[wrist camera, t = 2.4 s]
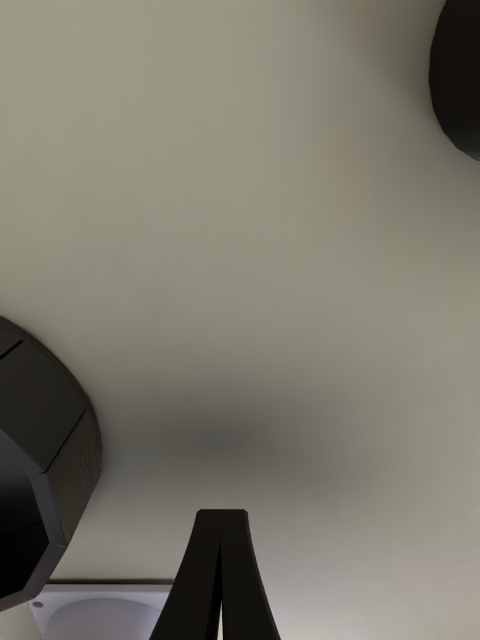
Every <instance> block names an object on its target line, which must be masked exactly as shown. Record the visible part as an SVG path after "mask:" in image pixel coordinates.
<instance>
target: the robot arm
mask: <svg viewBox="0 0 480 640" xmlns="http://www.w3.org/2000/svg"><path fill="white" fill-rule="evenodd" d="M221 600H222V627H223V640H281V639H280V636H279V633H278V630H277V627H276V624H275V621H274V618H273V615H272V612H271V609H270V606H269V603H268V600H267V596H266V593H265V590H264V586H263V583H262V580H261V576H260V573H259V569H258V565H257V561H256V557H255V553H254V549H253V544H252V539H251V534H250V528H249V521H248V512H247V511H245V510H244V509H200V510H199V511H198V512H197V514H196V518H195V522H194V526H193V530H192V533H191V536H190V540H189V543H188V546H187V549H186V551H185V554H184V557H183V560H182V563H181V565H180V568H179V570H178V573H177V575H176V578H175V580H174V583H173V585H149V584H45V586H44V588H43V589H42V591H41V593H40V594H39V595H38V596H37V597H36V598H35V599H32V600H30V601H27V602H28V605H29V607H30V610H31V612H32V615H33V617H34V620H35V622H36V625H37V627H38V630H39V632H40V635H41V637H42V638H41V640H217V638H218V629H219V619H220V610H221Z"/></svg>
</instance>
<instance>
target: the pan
mask: <svg viewBox="0 0 480 640" xmlns="http://www.w3.org/2000/svg"><path fill="white" fill-rule="evenodd" d="M101 451H102V446H101V437H100V430H99V427H98V423H97V419H96V416H95V414H94V411H93V409H92V407H91V405H90V402H89V400H88V398H87V397H86V395H85V393H84V392H83V390H82V388H81V387H80V385H79V384H78V382H77V381H76V380H75V378H74V377H73V376H72V375H71V373H70V372H69V371H68V370H67V368H66V367H65V366H64V365H63V364H62V363H61V362H60V361H59V360H58V359H57V358H56V357H55V356H54V355H53V354H52V353H51V352H50V351H49V350H48V349H47V348H45V347H44V346H43V345H42V344H41V343H39V342H38V341H37V340H36V339H34V338H33V337H32V336H31V335H29V334H28V333H26V332H25V331H23V330H22V329H20V328H19V327H17V326H16V325H14V324H12V323H11V322H9V321H8V320H6V319H4V318H2V317H0V612H1V611H4V610H6V609H9V608H12V607H14V606H17V605H19V604H22V603H24V602H27V601H30V600H32V599H35V598H36V597H37V596H38V595H39V594H40V593H41V591H42V589H43V588H44V586H45V584H46V583H47V581H48V579H49V578H50V576H51V574H52V573H53V571H54V569H55V568H56V566H57V564H58V563H59V561H60V559H61V558H62V556H63V554H64V553H65V551H66V549H67V548H68V546H69V544H70V541H71V539H72V537H73V535H74V532H75V530H76V528H77V526H78V524H79V521H80V519H81V517H82V515H83V512H84V510H85V508H86V506H87V504H88V501H89V499H90V497H91V495H92V492H93V490H94V488H95V486H96V484H97V481H98V479H99V477H100V472H101V469H100V463H101Z"/></svg>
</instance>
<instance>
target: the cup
mask: <svg viewBox="0 0 480 640" xmlns="http://www.w3.org/2000/svg"><path fill="white" fill-rule="evenodd" d="M429 83H430V90H431V96H432V103H433V108H434V111H435V113H436V115H437V118H438V120H439V122H440V125H441V127H442V129H443V131H444V132H445V134H446V135H447V136H448V137H449V138H450V140H451V141H452V142H453V143H454V144H455V146H456V147H457V148H458V149H460V150H461V151H463V152H464V153H466V154H467V155H469V156H471V157H472V158H474V159H475V160H478V161H480V0H447V1H446V3H445V5H444V7H443V9H442V12H441V14H440V16H439V20H438V24H437V28H436V32H435V35H434V39H433V43H432V47H431V57H430V73H429Z"/></svg>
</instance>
